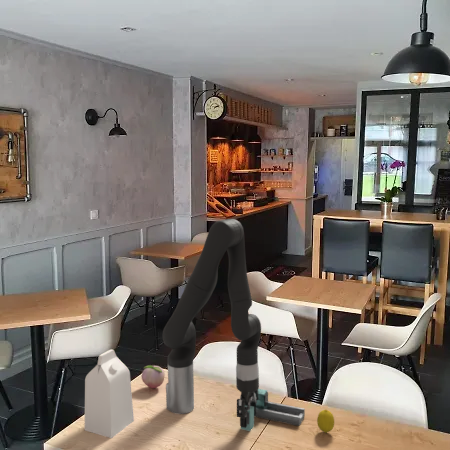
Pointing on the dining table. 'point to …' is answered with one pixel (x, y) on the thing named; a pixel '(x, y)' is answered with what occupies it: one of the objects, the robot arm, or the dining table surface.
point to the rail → (278, 410)
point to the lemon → (325, 421)
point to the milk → (108, 396)
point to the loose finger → (249, 419)
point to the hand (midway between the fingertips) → (248, 420)
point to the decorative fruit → (153, 376)
